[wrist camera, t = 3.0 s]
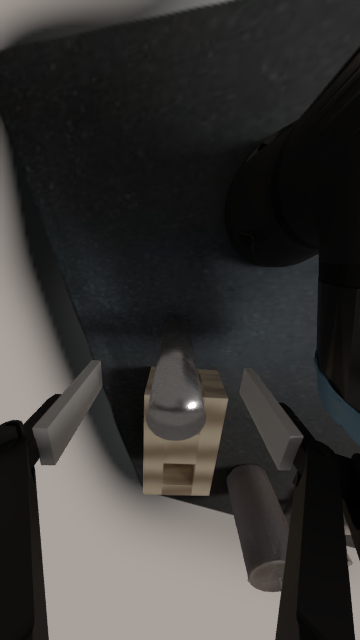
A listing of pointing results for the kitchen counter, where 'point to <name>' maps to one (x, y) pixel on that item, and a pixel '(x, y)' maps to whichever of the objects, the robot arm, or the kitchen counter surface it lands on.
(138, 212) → the kitchen counter surface
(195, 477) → the hole block
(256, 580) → the pillar candle
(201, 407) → the pin
